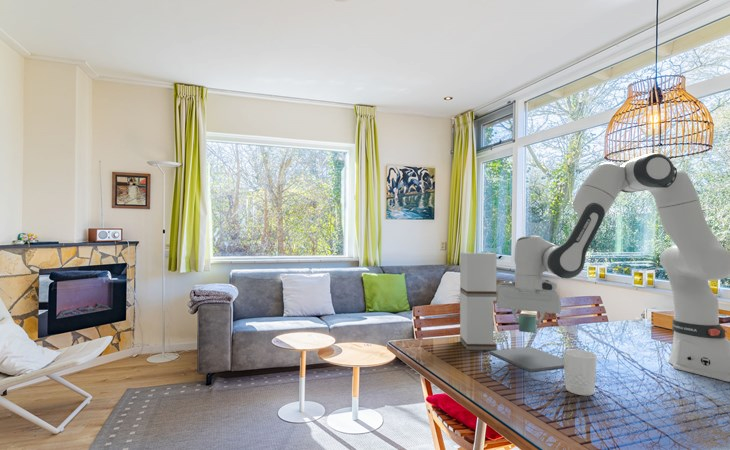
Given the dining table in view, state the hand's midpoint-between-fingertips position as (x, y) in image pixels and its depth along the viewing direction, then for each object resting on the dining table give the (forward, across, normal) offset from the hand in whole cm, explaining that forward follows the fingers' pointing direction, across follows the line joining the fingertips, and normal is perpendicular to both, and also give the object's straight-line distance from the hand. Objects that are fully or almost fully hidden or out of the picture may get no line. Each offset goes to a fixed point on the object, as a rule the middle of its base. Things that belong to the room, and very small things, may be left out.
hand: (528, 323), depth 134 cm
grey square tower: (+12, -18, +8) cm, 23 cm away
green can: (-1, 0, +7) cm, 7 cm away
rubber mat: (+12, +1, -1) cm, 12 cm away
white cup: (+12, +14, -24) cm, 30 cm away
